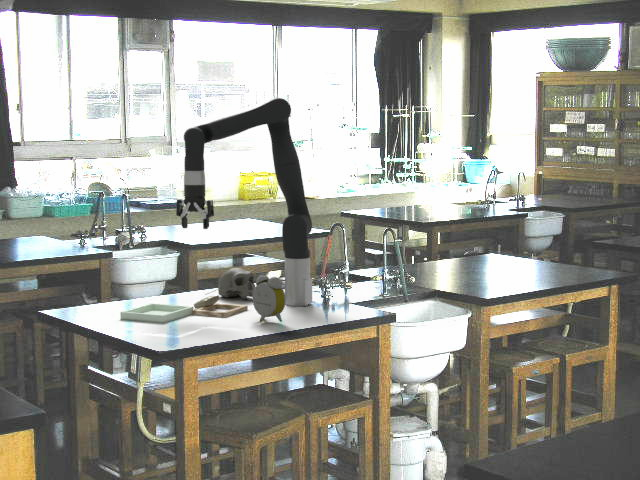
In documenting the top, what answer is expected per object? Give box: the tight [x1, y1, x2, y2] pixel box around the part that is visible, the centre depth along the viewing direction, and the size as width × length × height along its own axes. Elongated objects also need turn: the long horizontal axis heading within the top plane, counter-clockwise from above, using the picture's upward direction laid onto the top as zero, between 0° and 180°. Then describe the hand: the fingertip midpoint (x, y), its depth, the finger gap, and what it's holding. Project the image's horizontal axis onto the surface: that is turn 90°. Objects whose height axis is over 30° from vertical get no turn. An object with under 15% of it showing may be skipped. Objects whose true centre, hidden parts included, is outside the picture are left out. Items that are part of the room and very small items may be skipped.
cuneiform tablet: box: [193, 288, 221, 309], centre depth 368 cm, size 7×4×12 cm
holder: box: [191, 302, 249, 318], centre depth 363 cm, size 13×16×2 cm
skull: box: [217, 267, 256, 300], centre depth 393 cm, size 12×18×12 cm, turn 44°
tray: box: [119, 302, 194, 324], centre depth 355 cm, size 17×19×2 cm
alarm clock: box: [252, 274, 286, 323], centre depth 346 cm, size 12×7×15 cm, turn 44°
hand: (195, 228), depth 374 cm, fingers open, 8 cm apart
